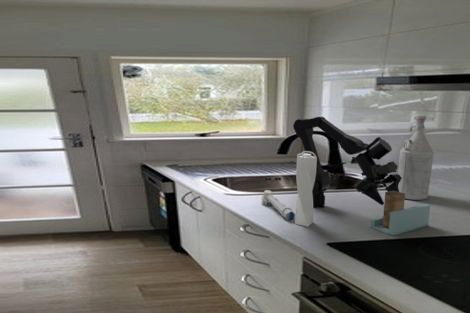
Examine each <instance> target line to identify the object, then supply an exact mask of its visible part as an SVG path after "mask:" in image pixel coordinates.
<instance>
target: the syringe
mask: <svg viewBox="0 0 470 313" xmlns="http://www.w3.org/2000/svg"><path fill="white" fill-rule="evenodd" d="M260 200H261V204H262V205H265V206H273V207H274V208H275V209H276V210H277V211H278V212H279V213H280V214H281V216H282V218H285V219H286V220H287V221H293V220H295V217H296V213H295V212H293V209H292V208H291V207H288V206H287V205H285V203H283V202H282V201H281V200H279V199H278V198H277V197H276V196H274V195H273V192H272V191H271V190H270V189H269V190H267V189H266V190H264V192H263V195H261V199H260Z"/></svg>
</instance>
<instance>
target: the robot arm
mask: <svg viewBox="0 0 470 313" xmlns="http://www.w3.org/2000/svg"><path fill="white" fill-rule="evenodd" d="M292 126H293V127H292V128H293V129H294V132H295V134H296V136H297V137H298V139H300V140H301V143H302V146H303V149H304V151H310V152H313V153H314V154H315V155H316V157H317V165H316V176H315V182H314V186H313V190H312V194H313V208H319V209H320V208H323V209H324V208H325V204H326V196H325V193H324V192H326V191H327V189H328V188H329V187H330V186H331V180H332V178H331V177H330V173H329V170H324V169H323V166H322V164H321V161H320V157H319V155H318V151H317V147H316V145H315V142H314V138H313V133H314V128H319V129H320V130H321V131H322V132H324V133H325V134H326V135H328V136H329V137H331V139H333V140H334V141H335V142H337V143H338V145H339V146H340V148H341V149H342V150H343V151H344V152H345V154H348V156H349V155H356V156H352V157H351V161H350V164H354V165H358V167H359V168H360V170H361V173H360V175H361V176H362V177H364V176H365V177H364V178H362V179H361V180H360V181H359V182H357V184H356V185H355V188H356V191H357V192H358V193H361V194H362V195H365V196H367V197H368V198H370V199H372V200H373V201H375V202H376V203H378V204H379V205H380V206H384V203H385V201H384V200H383V198H382V196H381V194H380V192H379V191H378V186H381V185H382V186H383V187H384V188H385V190H386V192H389V191H397V192H399V188H398V185H399V182H400V181H401V179H402V178H401V176H400V175H399V174H398V173H396V172H397V171H398V168H399V165H397V164H396V162H395V161H390V162H387V163H386V164H382V165H381V164H379V163H378V164H377V163H376V161H375V160H378V161H380V160H381V159H382V158H383V157H385V156H386V155H387V154H389V153H390V152H392V150H393V149H392V147H391V145H390V143H389V142H387V141H386V140H385V139H382V138H381V136H377V137H376V138H374V140H373V141H372V142H370V143H365V142H363V140H361V139H360V138H357V137H355V136H353V135H350V134H348V133H346V132H344V131H343V130H341V129H340V128H339V127H338V126H335V124H333V123H332V122H330V121H328V120H327V118H326V117H324V116H315V117H311V118H297V119H296V120H295V121H294V123H293V124H292ZM305 153H308V152H305ZM308 154H311V156H313V157H315V156H314V155H313V154H312V153H308ZM391 173H392V174H391ZM389 174H390V175H389Z"/></svg>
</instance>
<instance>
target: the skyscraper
mask: <svg viewBox="0 0 470 313" xmlns="http://www.w3.org/2000/svg"><path fill="white" fill-rule="evenodd" d="M305 152H308V153H312V154H313V155H314V156H315V157H313V156H311V154H308V153H305ZM316 165H317V157H316V155H315V154H314V153H313V152H310V151H305V150H304V151H301V153H298V154H296V174H295V175H296V178H295V179H296V180H295V181H296V189H297V199H296V208H295V218H294V224H295V225H300V226H304V227H309V226H310V225H311V224H312V223H314V207H313V194H312V190H313V186H314V182H315V176H316Z"/></svg>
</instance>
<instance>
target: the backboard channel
mask: <svg viewBox="0 0 470 313" xmlns="http://www.w3.org/2000/svg"><path fill="white" fill-rule="evenodd" d="M430 210H431V204H428V203H424V204H420V205H419V204H418V205H416V206H412V207H407V208H404V209H402V210H397V211H393V212H390V221H389V229H387V228H384V227H383V216H380V217H379V216H378V217H374V218H371V219H370V228H372V229H374V230H377V231H379V232H382V233H385V234H386V235H390V236H397V235H400V234H404V233H407V231H408V232H410V231H411V230H412V231H415V230H419V229H422V228H426V227H428V226H429V220H430ZM418 228H419V229H418Z"/></svg>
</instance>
